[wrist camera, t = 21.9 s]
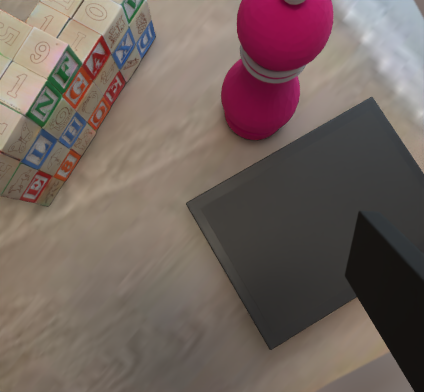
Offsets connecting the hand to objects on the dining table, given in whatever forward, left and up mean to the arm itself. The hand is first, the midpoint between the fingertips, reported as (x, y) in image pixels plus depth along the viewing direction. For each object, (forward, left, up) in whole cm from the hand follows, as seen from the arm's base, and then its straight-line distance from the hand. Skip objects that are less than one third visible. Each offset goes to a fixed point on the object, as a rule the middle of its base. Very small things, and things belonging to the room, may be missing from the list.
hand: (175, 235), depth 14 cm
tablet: (+11, +6, -24) cm, 27 cm away
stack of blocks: (-16, +11, -25) cm, 31 cm away
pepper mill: (+2, +15, -25) cm, 29 cm away
